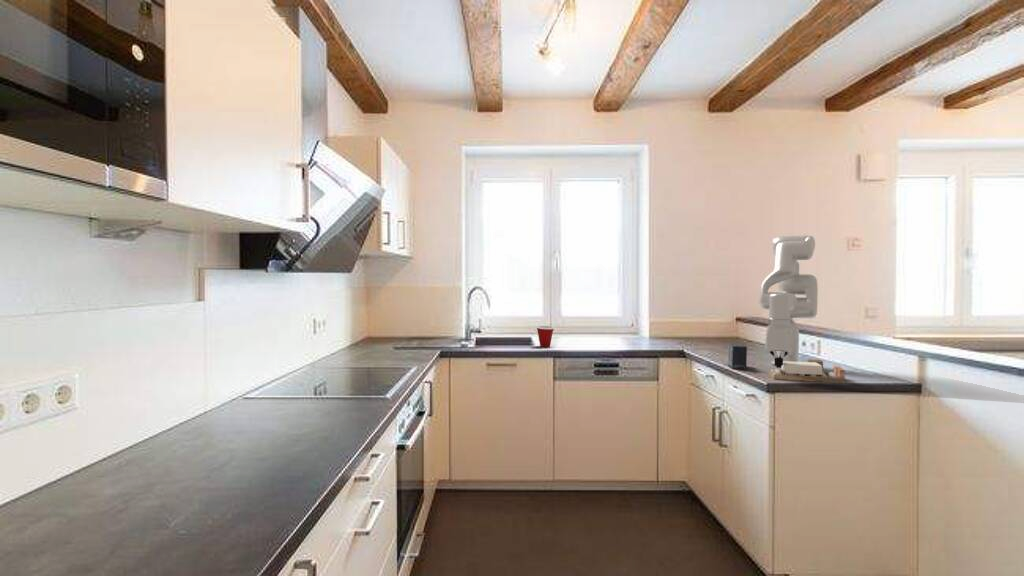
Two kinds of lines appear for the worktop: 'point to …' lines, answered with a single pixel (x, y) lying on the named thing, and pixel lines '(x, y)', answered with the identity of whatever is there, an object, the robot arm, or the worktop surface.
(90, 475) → the worktop surface
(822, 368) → the walnut block
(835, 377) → the roller bed
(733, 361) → the small box
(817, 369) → the slab
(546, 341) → the plastic cup
